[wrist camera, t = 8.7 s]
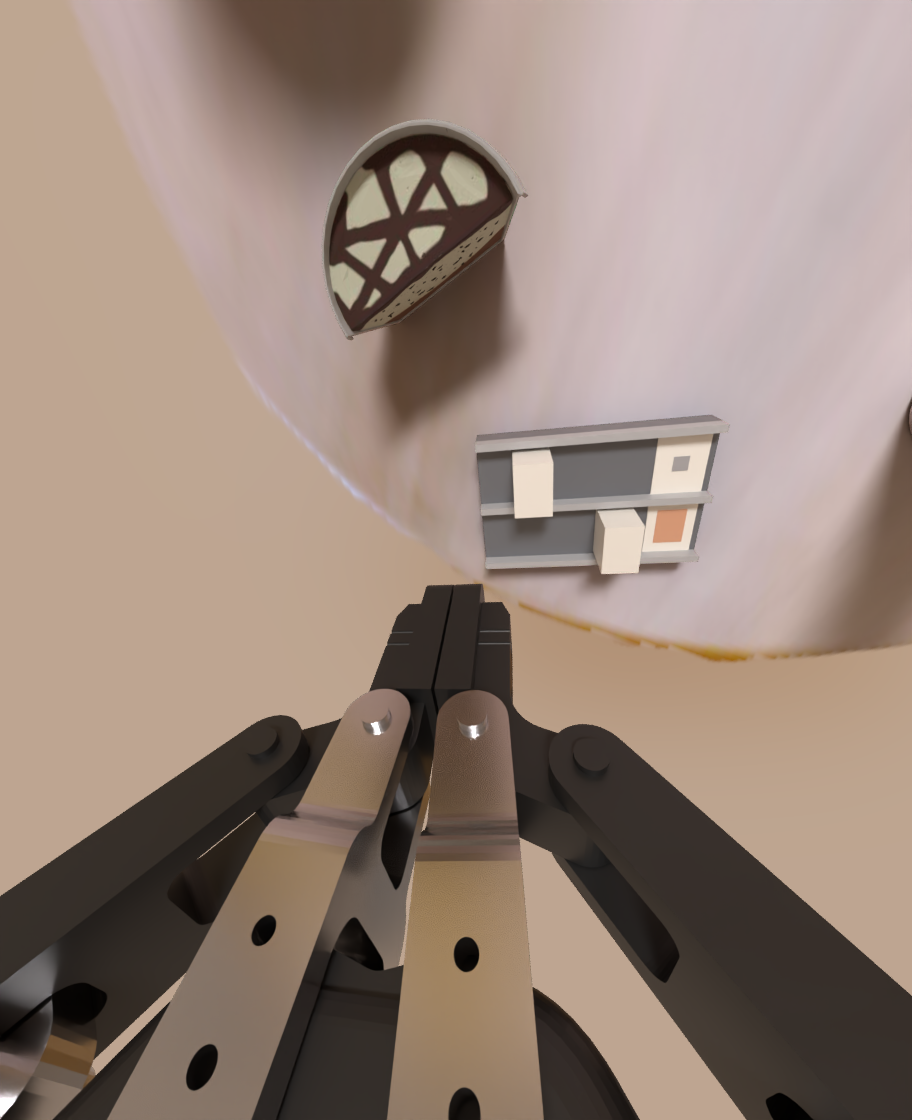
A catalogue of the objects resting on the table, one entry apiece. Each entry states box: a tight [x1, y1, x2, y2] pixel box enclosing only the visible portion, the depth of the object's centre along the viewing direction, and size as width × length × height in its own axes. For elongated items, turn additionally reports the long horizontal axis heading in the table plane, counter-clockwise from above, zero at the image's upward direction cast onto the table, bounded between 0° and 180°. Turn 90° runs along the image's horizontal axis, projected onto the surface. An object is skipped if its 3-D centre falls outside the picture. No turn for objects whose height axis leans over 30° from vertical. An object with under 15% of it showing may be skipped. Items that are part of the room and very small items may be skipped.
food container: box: [322, 119, 528, 340], centre depth 24 cm, size 12×6×10 cm, turn 123°
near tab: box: [512, 447, 553, 518], centre depth 33 cm, size 3×4×4 cm
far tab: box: [593, 507, 645, 574], centre depth 34 cm, size 3×4×4 cm
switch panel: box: [475, 415, 730, 569], centre depth 35 cm, size 19×12×3 cm, turn 97°
